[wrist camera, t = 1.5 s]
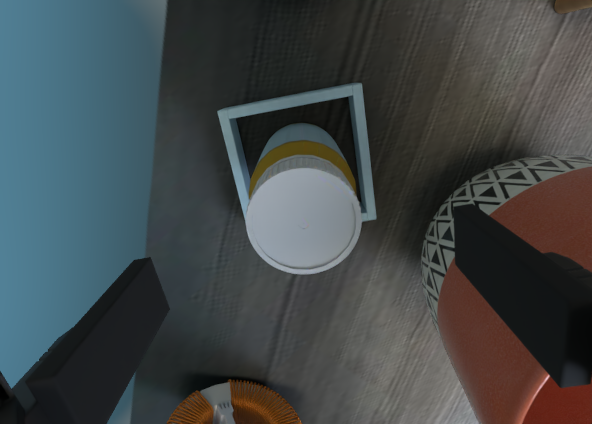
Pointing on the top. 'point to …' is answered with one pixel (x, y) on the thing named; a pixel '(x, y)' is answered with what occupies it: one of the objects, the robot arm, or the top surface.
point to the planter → (480, 315)
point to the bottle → (303, 202)
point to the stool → (571, 5)
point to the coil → (234, 406)
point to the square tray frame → (347, 90)
